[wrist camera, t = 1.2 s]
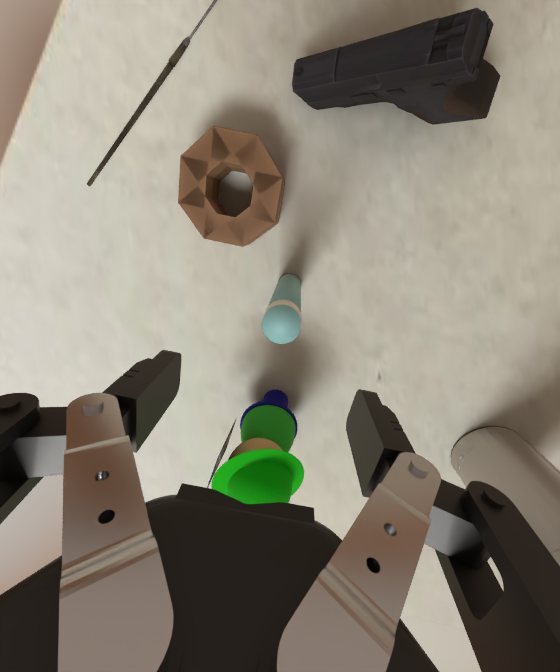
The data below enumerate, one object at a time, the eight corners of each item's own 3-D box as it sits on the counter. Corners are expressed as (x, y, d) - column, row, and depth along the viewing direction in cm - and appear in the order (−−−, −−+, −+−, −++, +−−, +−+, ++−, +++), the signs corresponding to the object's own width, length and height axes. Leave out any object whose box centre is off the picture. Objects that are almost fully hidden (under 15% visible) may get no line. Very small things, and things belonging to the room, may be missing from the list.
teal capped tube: (303, 276, 31) (305, 310, 18) (298, 299, 32) (296, 348, 19) (279, 271, 31) (264, 302, 18) (275, 294, 32) (258, 340, 19)
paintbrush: (88, 183, 29) (85, 182, 29) (255, -62, 22) (254, -68, 21) (92, 187, 29) (89, 187, 29) (260, -56, 22) (259, -62, 21)
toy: (253, 370, 36) (223, 461, 22) (314, 396, 36) (322, 499, 23) (230, 420, 39) (191, 528, 25) (286, 443, 40) (278, 560, 26)
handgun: (486, 121, 23) (472, 56, 16) (341, 134, 31) (285, 94, 23) (501, 77, 22) (493, -16, 15) (347, 101, 30) (290, 49, 22)
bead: (290, 153, 27) (288, 141, 23) (273, 249, 30) (269, 252, 26) (198, 134, 27) (182, 119, 23) (192, 232, 30) (176, 232, 26)
